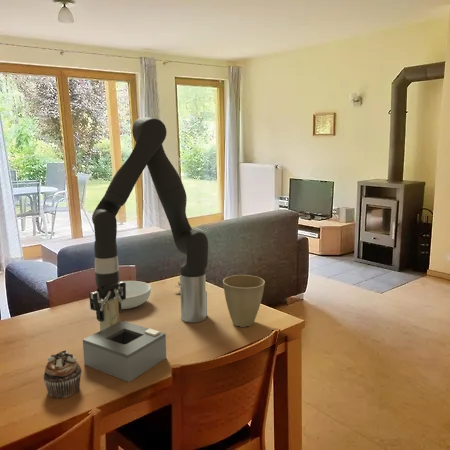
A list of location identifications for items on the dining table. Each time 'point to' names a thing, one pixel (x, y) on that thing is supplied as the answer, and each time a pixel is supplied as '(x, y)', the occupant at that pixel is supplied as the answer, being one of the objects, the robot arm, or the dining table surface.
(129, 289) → the serving bowl
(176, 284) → the architectural model
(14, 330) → the dining table surface
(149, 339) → the grey square box
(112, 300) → the skincare box
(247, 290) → the plant pot
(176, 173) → the robot arm
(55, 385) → the cupcake
